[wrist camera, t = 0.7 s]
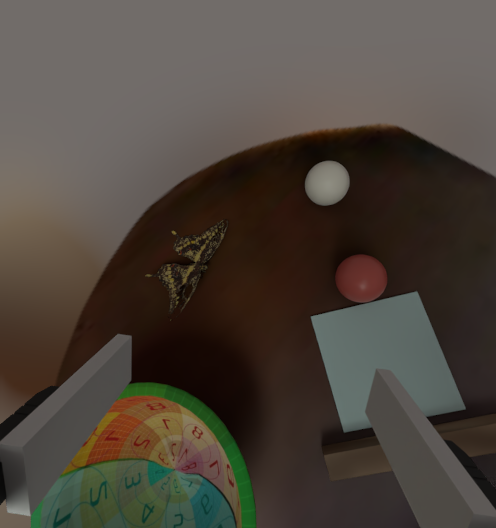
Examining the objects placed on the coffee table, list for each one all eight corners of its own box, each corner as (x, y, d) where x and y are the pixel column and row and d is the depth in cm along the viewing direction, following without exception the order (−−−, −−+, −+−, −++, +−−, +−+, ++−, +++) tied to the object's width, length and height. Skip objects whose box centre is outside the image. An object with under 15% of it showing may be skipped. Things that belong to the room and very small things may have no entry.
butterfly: (184, 205, 44) (234, 211, 39) (194, 219, 47) (242, 226, 42) (123, 304, 38) (175, 325, 33) (140, 312, 40) (189, 333, 36)
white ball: (350, 206, 39) (360, 184, 33) (310, 217, 39) (313, 197, 34) (337, 172, 41) (345, 145, 35) (299, 183, 41) (300, 158, 35)
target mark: (464, 408, 30) (466, 409, 30) (343, 432, 32) (344, 432, 32) (416, 291, 34) (417, 291, 34) (310, 316, 36) (310, 316, 36)
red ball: (385, 299, 35) (403, 291, 29) (340, 309, 35) (349, 304, 30) (369, 256, 36) (383, 242, 31) (326, 267, 37) (332, 255, 31)
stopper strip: (507, 438, 29) (526, 447, 27) (327, 470, 31) (330, 481, 29) (496, 413, 30) (514, 419, 27) (321, 446, 32) (323, 455, 29)
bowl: (72, 515, 34) (-13, 585, 25) (142, 346, 39) (93, 349, 29) (229, 619, 29) (197, 758, 19) (290, 410, 33) (289, 440, 24)
